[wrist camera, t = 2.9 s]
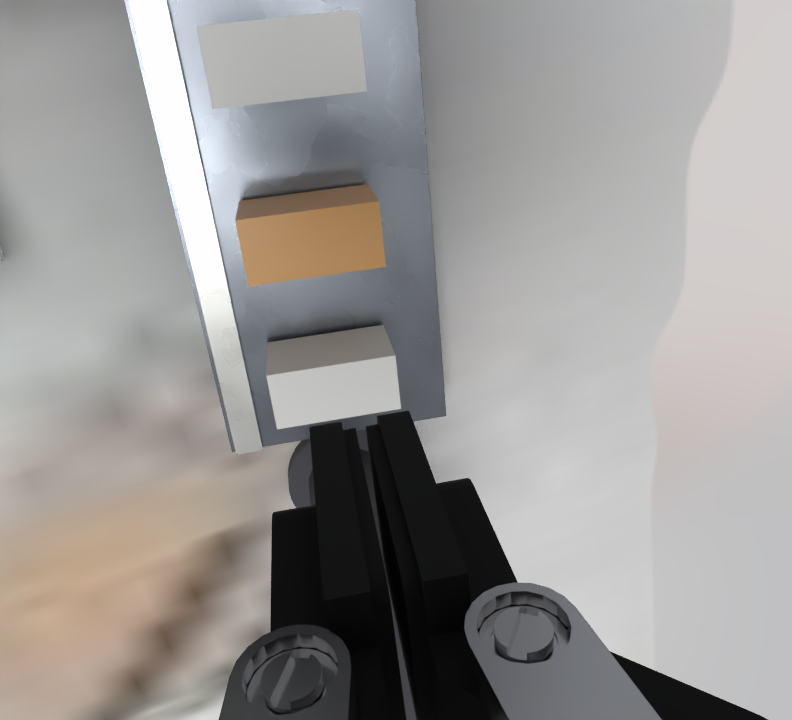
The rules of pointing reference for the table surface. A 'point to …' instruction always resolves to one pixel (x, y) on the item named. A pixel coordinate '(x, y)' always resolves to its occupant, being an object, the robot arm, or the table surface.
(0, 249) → the bracket
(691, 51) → the table surface
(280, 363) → the white rectangular block
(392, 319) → the breaker panel
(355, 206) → the block
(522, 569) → the table surface
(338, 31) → the paddle
